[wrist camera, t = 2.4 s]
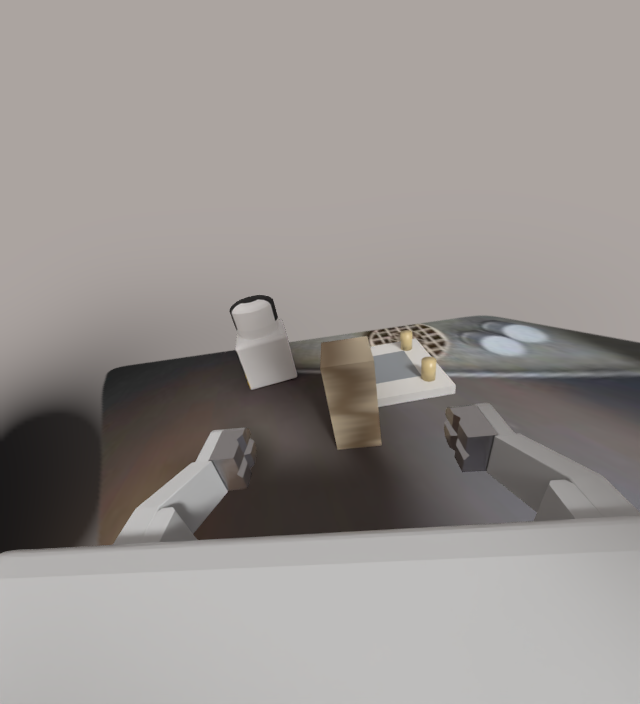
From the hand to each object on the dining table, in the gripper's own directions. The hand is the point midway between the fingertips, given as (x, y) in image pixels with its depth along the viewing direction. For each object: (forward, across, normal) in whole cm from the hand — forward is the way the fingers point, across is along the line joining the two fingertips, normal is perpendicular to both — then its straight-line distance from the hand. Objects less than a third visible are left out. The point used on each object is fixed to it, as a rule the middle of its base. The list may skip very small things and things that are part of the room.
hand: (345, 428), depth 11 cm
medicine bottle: (+26, +12, +14) cm, 32 cm away
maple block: (+12, 0, +13) cm, 18 cm away
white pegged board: (+22, -6, +13) cm, 26 cm away
